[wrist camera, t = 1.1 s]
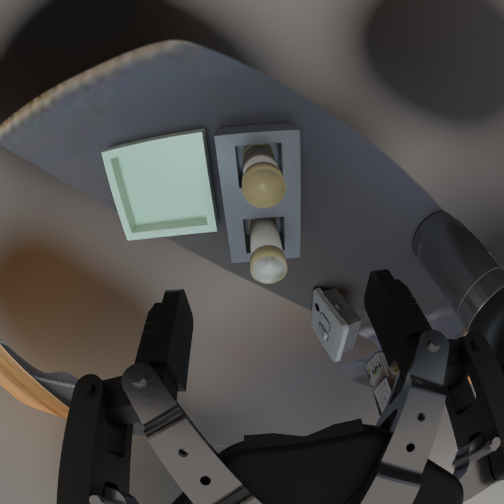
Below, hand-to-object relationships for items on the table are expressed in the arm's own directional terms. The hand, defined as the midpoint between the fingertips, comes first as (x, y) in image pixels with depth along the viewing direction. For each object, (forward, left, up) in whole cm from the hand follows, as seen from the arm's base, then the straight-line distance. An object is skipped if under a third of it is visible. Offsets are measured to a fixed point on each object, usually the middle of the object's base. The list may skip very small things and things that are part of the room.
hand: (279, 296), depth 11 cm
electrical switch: (-10, +25, -23) cm, 35 cm away
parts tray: (+11, +2, -22) cm, 25 cm away
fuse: (0, +8, -21) cm, 23 cm away
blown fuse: (0, 0, -21) cm, 21 cm away
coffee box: (-28, +48, -23) cm, 60 cm away
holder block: (0, +4, -22) cm, 23 cm away
